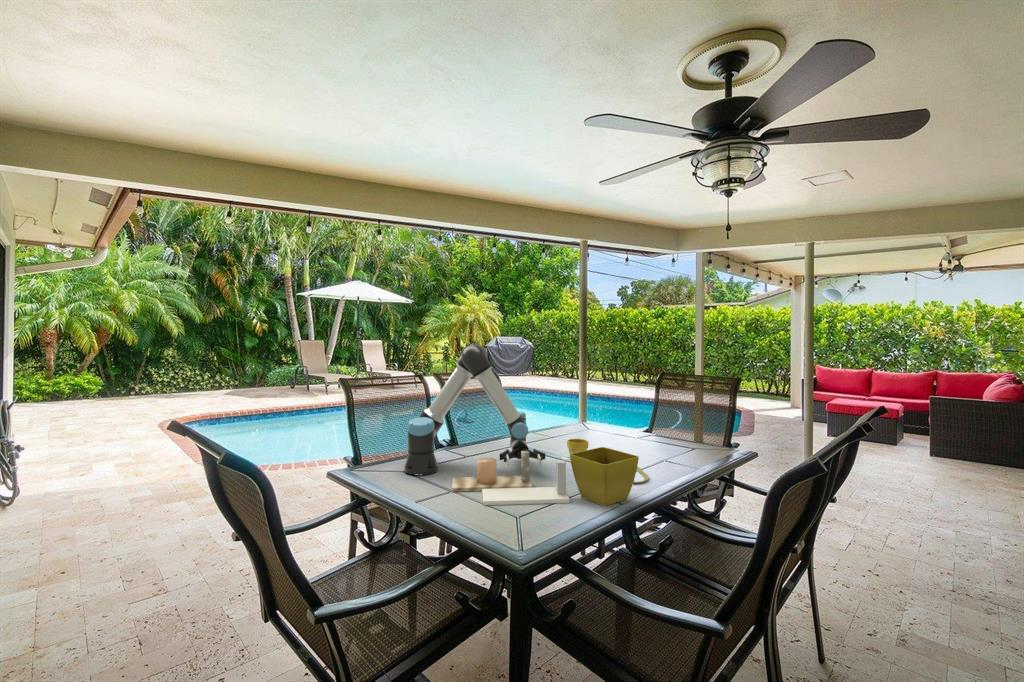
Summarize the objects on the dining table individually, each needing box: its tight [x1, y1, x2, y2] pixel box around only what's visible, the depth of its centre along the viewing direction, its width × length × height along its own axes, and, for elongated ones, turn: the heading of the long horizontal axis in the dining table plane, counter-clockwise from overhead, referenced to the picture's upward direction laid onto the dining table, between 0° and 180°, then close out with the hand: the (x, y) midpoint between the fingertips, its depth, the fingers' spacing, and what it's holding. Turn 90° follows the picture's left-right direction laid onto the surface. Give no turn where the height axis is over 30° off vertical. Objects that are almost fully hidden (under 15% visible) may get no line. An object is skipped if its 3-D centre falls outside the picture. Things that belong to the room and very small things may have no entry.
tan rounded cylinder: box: [476, 457, 497, 485], centre depth 203 cm, size 8×8×9 cm
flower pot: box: [569, 446, 640, 507], centre depth 187 cm, size 19×19×17 cm
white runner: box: [481, 459, 571, 506], centre depth 188 cm, size 32×14×14 cm, turn 95°
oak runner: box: [451, 451, 533, 493], centre depth 203 cm, size 32×14×14 cm, turn 95°
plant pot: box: [566, 438, 589, 455], centre depth 242 cm, size 10×10×10 cm
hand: (524, 461), depth 208 cm, fingers open, 13 cm apart
